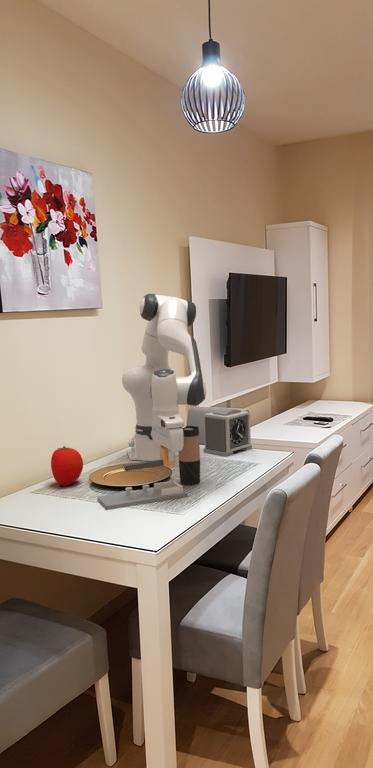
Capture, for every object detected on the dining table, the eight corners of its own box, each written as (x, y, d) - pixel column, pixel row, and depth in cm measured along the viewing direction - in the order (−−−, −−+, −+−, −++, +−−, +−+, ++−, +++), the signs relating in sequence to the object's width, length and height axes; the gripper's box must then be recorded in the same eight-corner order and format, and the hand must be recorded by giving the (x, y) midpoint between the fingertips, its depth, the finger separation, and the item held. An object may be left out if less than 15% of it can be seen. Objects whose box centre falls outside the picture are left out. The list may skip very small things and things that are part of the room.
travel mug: (198, 486, 220) (196, 430, 217) (177, 485, 221) (175, 430, 218) (202, 479, 227) (200, 425, 224) (182, 479, 229) (180, 425, 226)
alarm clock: (226, 457, 258) (224, 413, 256) (202, 452, 267) (201, 410, 265) (253, 448, 272) (252, 407, 269) (229, 444, 281) (228, 404, 278)
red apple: (61, 478, 235) (59, 441, 233) (89, 479, 232) (87, 442, 230) (45, 488, 223) (43, 449, 221) (74, 490, 220) (72, 450, 218)
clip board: (97, 500, 208) (97, 489, 207) (175, 487, 218) (175, 477, 218) (106, 509, 198) (105, 498, 197) (187, 496, 208) (187, 486, 208)
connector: (171, 462, 212) (170, 445, 212) (175, 464, 209) (174, 447, 208) (123, 469, 206) (122, 451, 205) (126, 472, 202) (125, 454, 201)
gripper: (146, 414, 216) (148, 453, 218) (168, 424, 197) (169, 467, 199) (163, 413, 219) (165, 451, 220) (186, 422, 200) (188, 464, 202)
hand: (167, 459), depth 210 cm, fingers closed on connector, 4 cm apart
